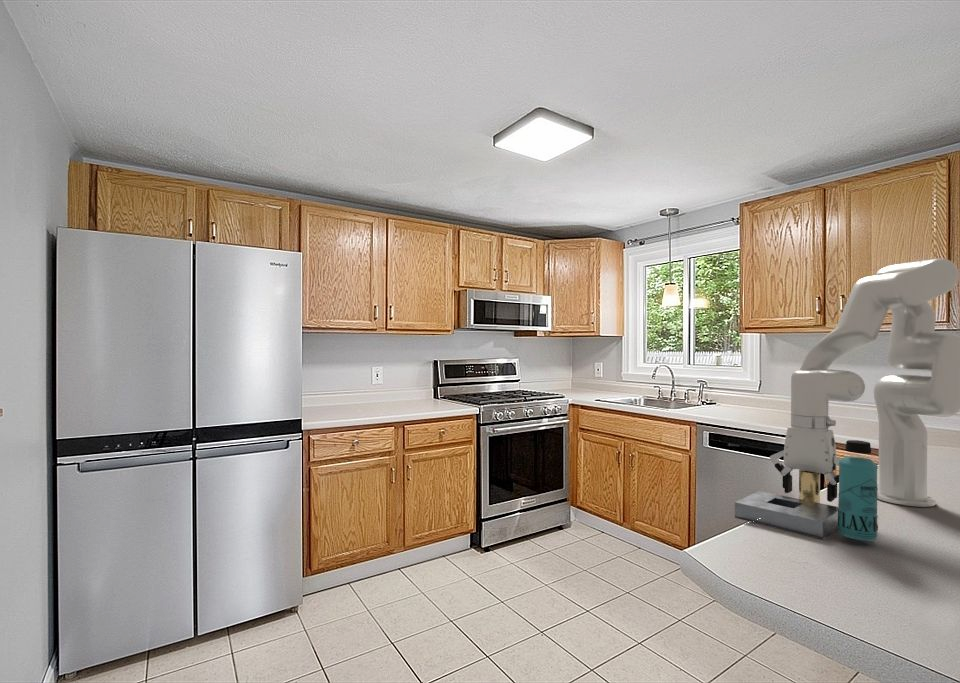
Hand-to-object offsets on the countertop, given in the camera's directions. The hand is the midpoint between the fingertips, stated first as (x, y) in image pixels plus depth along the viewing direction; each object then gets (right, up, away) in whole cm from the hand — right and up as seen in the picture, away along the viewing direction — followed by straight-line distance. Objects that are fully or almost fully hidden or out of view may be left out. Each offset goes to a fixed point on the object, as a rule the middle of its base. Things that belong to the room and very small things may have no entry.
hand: (809, 495), depth 122 cm
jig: (-10, -3, -8) cm, 13 cm away
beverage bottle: (-4, -3, -21) cm, 21 cm away
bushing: (0, -3, 0) cm, 3 cm away
